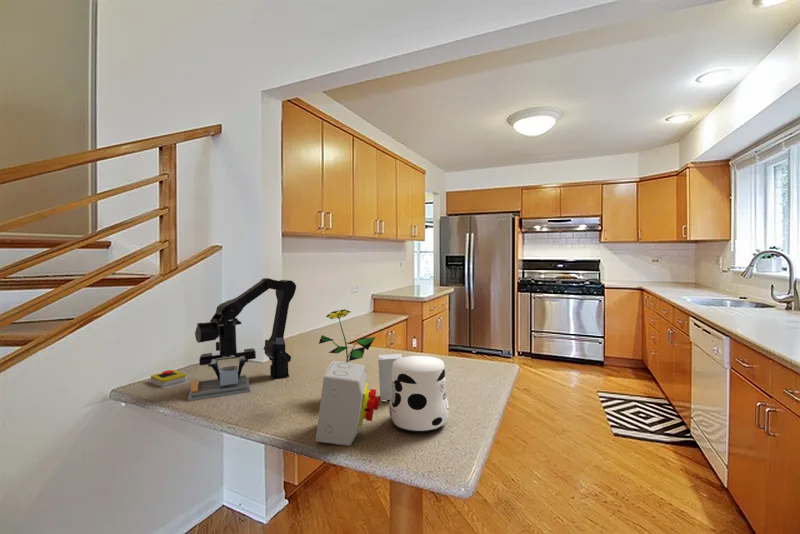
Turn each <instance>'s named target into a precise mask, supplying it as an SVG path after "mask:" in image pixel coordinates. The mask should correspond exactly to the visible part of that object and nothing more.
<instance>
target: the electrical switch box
mask: <svg viewBox="0 0 800 534" xmlns="http://www.w3.org/2000/svg"><path fill="white" fill-rule="evenodd" d="M365 369H366V367H365V365H364V364H359V363H355V362H349V361H348V362H345V361H339V360H332V362H329V364H328V366H327V369H326V371H325V372H324V373H325V374H324V376H323V379H322V389H321V395H320V402H319V403H320V405H319V410H318V411H319V412H318V420H317V426H316V427H317V428H316V435H315V442H317V443H318V442H319V443H325V444H333V445H339V446H352V443H353V442H354V440H355V438H356V436H357V434H358V431H359V428H362V426H363V421H364V419H365V420H366V421H368V422H373V417H374V410H376V411H377V410H378V409H379V404H380V400H381V399H380V396H377V395H376V394H377V389H372V388H371V389H369V382H367V381H368V375H367V369H366V370H365Z"/></svg>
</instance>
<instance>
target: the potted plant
mask: <svg viewBox="0 0 800 534" xmlns="http://www.w3.org/2000/svg"><path fill="white" fill-rule="evenodd" d="M350 313H351V311H350V310H348V309H340V310H335V311H331V312H330V313H328V314H327V315H325V317H326V318H328V319H330V320H333V319H338V321H339V326H340V329H341V332H342V333H341V334H342V336H343V340H344V344H345V345H344V346H339V345H338V344H337V343H336V342H335V341H334V339H333V338H330V337H327V336H325V335H322V334H321V336H320V339H319V341H318V344H325V343H327V342H332V344H334V345H335V346H336V347H335V348H333V349H332V350H330V351H329V352H328V354H336V355H337V354H340V353H341V352H344V350H345V353H346V355H345V356H346V362H348V363H349V362H351V361H354V360H359V359H363V357H364V355H365V354H364V353H365V350H367V351H368V350H369V349H370V347H371V346H372V344H373V342H374V340H375V339H376V336H373V337H372V336H371V337H361V338H360V339H357V340H355V344H354V345H353V347H352V348H351V350H350V352H349V351H348V349H349V347H348V345H347V340H346V335H345V334H344V329H343V326H342V322H341V318H345V317H346V316H348V315H349V314H350ZM356 344H358V345H360V347H358V348H355V346H356ZM354 348H355V349H354ZM365 370H366V371H367V369H366V368H365Z"/></svg>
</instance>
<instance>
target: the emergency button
mask: <svg viewBox="0 0 800 534" xmlns="http://www.w3.org/2000/svg"><path fill="white" fill-rule="evenodd" d="M187 378H188V377H187V373H184V372H181V371H179V370H176V369H168V370H164V371H161V372H160V373H154V374H151V375H150V380H149V381H148V382H149V383H150V384H153V385H156V386H157V387H160V388H161V389H171V388H174V387H177V386H181V385H184V384H188V383H190V380H188V379H187Z"/></svg>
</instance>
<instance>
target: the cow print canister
mask: <svg viewBox="0 0 800 534" xmlns="http://www.w3.org/2000/svg"><path fill="white" fill-rule="evenodd" d="M444 362H445V361H443V360H442V359H440V358H437V357H435V356H434V357H433V356H428V355H426V356H425V355H410V356H404V357H403V356H402V358H399V359H397V360H395V361H394V362H393V365H392V395H391V399H390V401H389V403H388V404H389V405H388V410H389V417H390V421H391V422H392V423H393V425H394V426H396V427H397V428H399V429H400V430H403V431H405V432H410V433H411V432H412V433H429V432H432V431H433V432H434V431H436V430H439V429H440V428H442V427H443V426H444V425H445V424H446V422H447V421H448V418H449V410H450V409H449V408H450V407H449V400H448V398H447V393H446V369H445V363H444Z"/></svg>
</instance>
